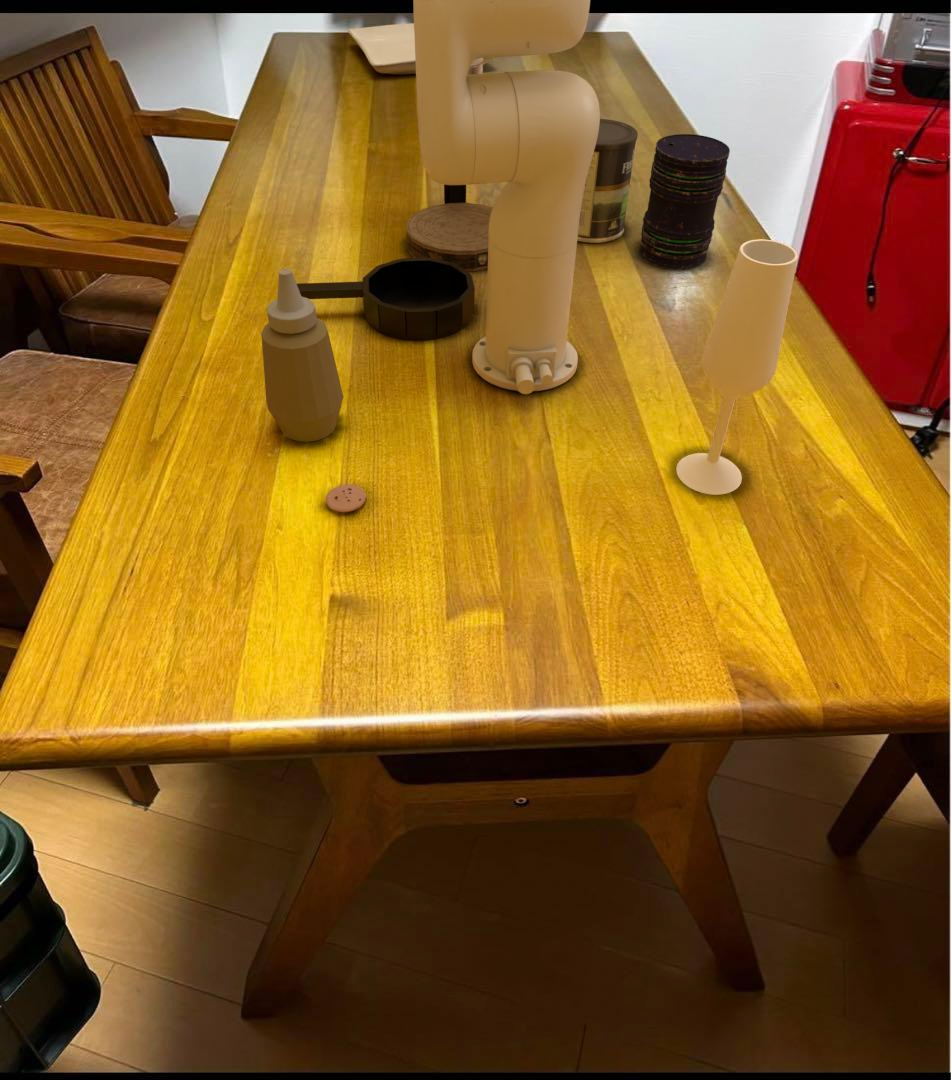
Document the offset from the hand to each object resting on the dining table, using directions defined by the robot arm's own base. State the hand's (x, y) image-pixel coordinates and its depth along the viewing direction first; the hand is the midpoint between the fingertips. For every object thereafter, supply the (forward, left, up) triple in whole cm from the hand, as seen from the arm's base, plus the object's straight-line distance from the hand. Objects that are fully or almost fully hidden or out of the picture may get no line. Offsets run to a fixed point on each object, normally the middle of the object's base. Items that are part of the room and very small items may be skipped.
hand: (455, 205), depth 129 cm
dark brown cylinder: (-14, -31, -2) cm, 34 cm away
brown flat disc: (-9, 0, -2) cm, 10 cm away
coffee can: (-5, -20, -2) cm, 21 cm away
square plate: (+83, +1, -2) cm, 83 cm away
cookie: (-64, +16, -2) cm, 66 cm away
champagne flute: (-63, -21, -2) cm, 66 cm away
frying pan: (-28, +12, -2) cm, 30 cm away
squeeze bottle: (-52, +20, -2) cm, 55 cm away
